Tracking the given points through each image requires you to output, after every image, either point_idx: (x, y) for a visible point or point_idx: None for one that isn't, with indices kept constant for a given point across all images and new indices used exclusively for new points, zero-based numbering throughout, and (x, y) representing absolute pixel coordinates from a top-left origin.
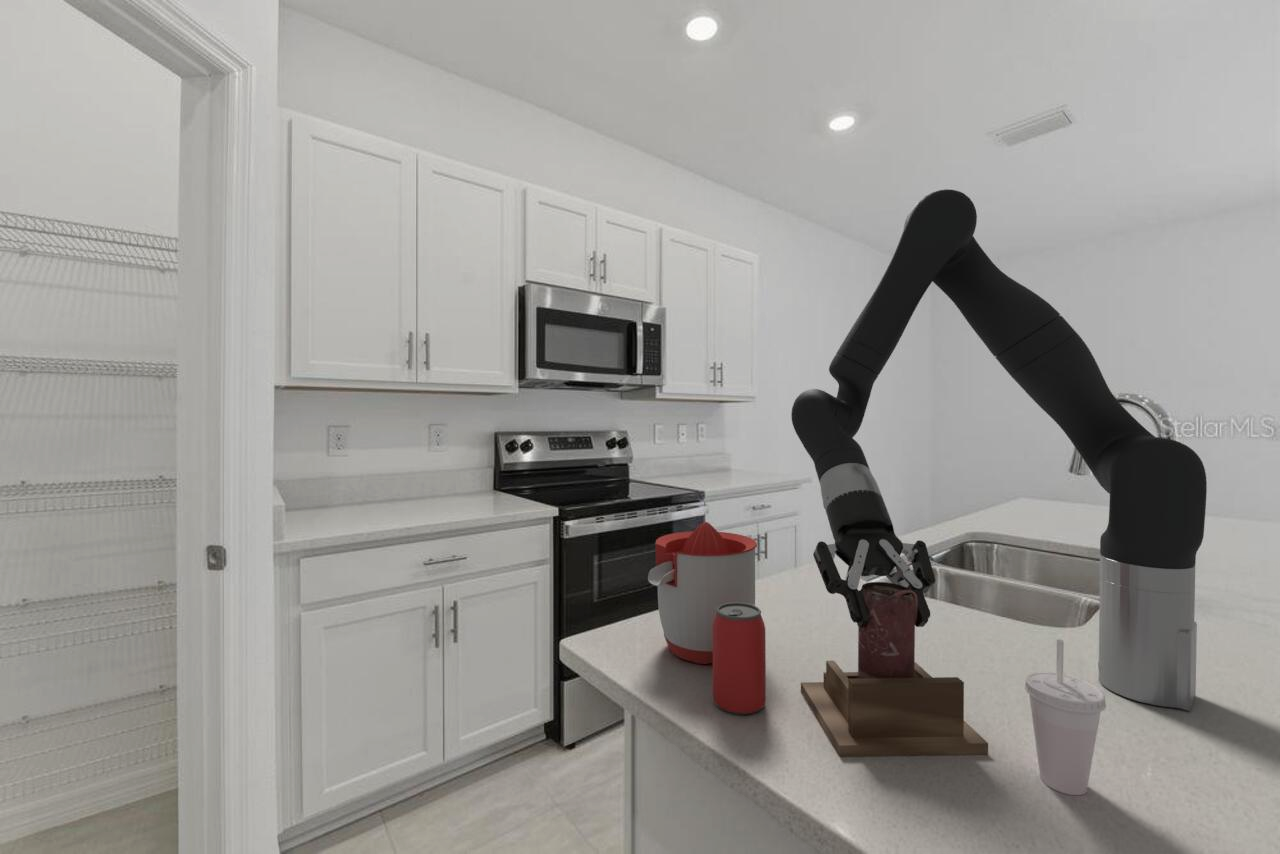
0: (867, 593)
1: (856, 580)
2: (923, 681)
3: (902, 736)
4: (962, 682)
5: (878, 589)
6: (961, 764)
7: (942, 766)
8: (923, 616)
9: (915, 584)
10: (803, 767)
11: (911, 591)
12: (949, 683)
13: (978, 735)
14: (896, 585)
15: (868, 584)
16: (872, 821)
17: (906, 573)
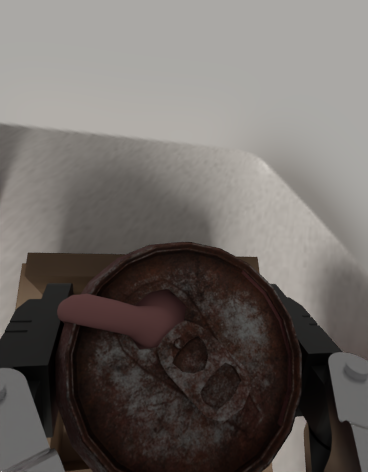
0: (285, 317)
1: (348, 393)
2: (115, 259)
3: None
4: (30, 253)
5: (227, 362)
6: (84, 248)
7: (114, 246)
8: (64, 284)
9: (5, 388)
10: (287, 252)
11: (85, 300)
12: (61, 254)
13: (21, 284)
14: (97, 449)
15: (250, 469)
16: (234, 171)
17: (14, 466)
